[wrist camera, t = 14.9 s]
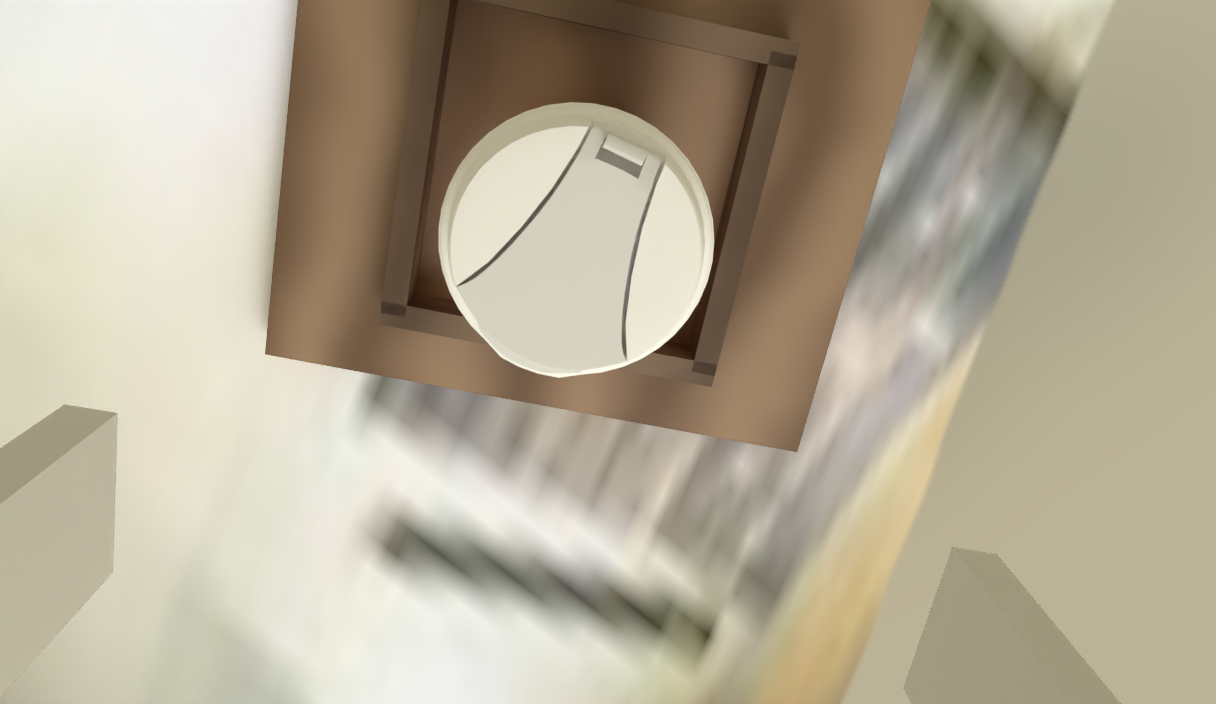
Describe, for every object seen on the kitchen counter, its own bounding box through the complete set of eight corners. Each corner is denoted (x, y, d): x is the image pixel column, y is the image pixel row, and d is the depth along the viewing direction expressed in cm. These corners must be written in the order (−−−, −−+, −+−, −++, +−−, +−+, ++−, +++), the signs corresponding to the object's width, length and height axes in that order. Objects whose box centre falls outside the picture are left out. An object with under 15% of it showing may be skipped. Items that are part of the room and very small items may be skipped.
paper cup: (533, 49, 36) (499, 52, 23) (706, 135, 37) (771, 184, 24) (457, 228, 38) (386, 326, 25) (623, 303, 39) (640, 436, 26)
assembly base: (276, 343, 41) (248, 369, 38) (323, -145, 35) (295, -165, 32) (790, 438, 43) (806, 471, 40) (920, -8, 37) (953, -13, 33)
